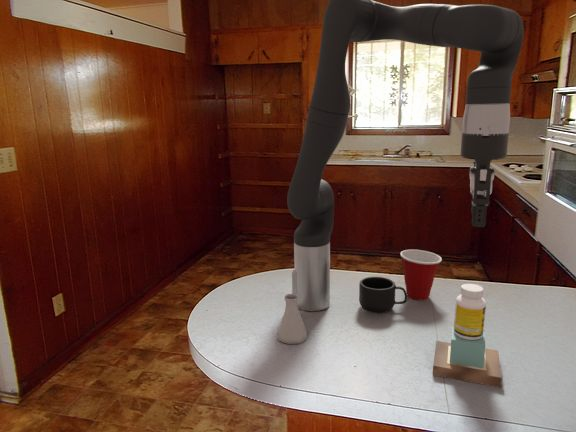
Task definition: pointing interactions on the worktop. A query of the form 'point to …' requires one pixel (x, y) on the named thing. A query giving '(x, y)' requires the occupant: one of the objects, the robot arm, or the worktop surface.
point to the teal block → (467, 351)
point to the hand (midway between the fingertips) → (477, 220)
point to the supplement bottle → (470, 312)
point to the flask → (291, 323)
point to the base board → (467, 367)
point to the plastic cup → (419, 272)
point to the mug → (378, 294)
